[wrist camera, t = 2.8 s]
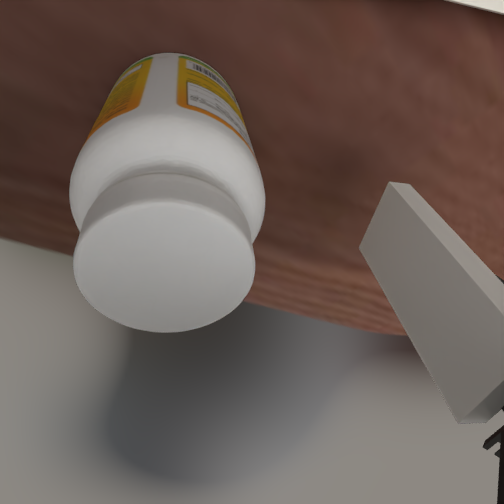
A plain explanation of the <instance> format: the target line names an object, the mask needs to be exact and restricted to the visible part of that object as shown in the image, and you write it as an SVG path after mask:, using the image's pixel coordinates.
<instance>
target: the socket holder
mask: <svg viewBox="0 0 504 504" xmlns="http://www.w3.org/2000/svg"><path fill="white" fill-rule="evenodd" d="M445 1H449V2H453V3H457V4H461V5H465V6H469V7H474V8H478V9H482V10H486V11H490V12H494V13H498V14H503V15H504V0H445Z"/></svg>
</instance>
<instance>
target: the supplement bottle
mask: <svg viewBox="0 0 504 504" xmlns="http://www.w3.org/2000/svg"><path fill="white" fill-rule="evenodd" d="M69 198H70V206H71V211H72V214H73V217H74V220H75V223H76V225H77V227H78V229H79V231H80V235H79V238H78V241H77V244H76V247H75V251H74V255H73V271H74V277H75V281H76V284H77V285H78V288H79V290H80V292H81V293H82V295H83V296H84V298H85V299H86V300H87V302H88V303H89V304H91V305H92V307H93V308H95V309H96V310H97V311H99V312H100V313H101V314H103V315H104V316H106V317H107V318H109V319H112V320H113V321H115V322H118V323H120V324H122V325H124V326H128V327H131V328H135V329H139V330H144V331H151V332H181V331H187V330H192V329H196V328H200V327H203V326H206V325H208V324H211V323H213V322H215V321H217V320H219V319H221V318H223V317H224V316H226V315H227V314H228V313H230V312H231V311H233V310H234V309H235V308H236V307H237V306H238V305H239V304H240V303H241V302H242V300H243V299H244V298H245V296H246V295H247V294H248V292H249V290H250V288H251V285H252V283H253V279H254V275H255V257H254V251H253V245H252V243H253V242H254V240H255V238H256V237H257V235H258V233H259V230H260V228H261V225H262V221H263V218H264V212H265V190H264V185H263V180H262V176H261V172H260V169H259V166H258V162H257V160H256V157H255V154H254V151H253V148H252V145H251V142H250V139H249V136H248V133H247V129H246V126H245V123H244V120H243V117H242V115H241V111H240V108H239V105H238V103H237V101H236V98H235V96H234V94H233V92H232V90H231V88H230V87H229V85H228V84H227V83H226V81H225V80H224V79H223V77H222V76H221V75H220V74H219V73H218V72H217V71H216V70H214V69H213V68H212V67H211V66H209V65H208V64H206V63H204V62H203V61H201V60H199V59H196V58H194V57H191V56H188V55H185V54H179V53H160V54H154V55H151V56H148V57H145V58H143V59H141V60H139V61H137V62H135V63H134V64H132V65H131V66H130V67H129V68H128V69H126V70H125V71H124V73H123V74H122V75H121V76H120V77H119V79H118V80H117V82H116V83H115V85H114V86H113V88H112V90H111V92H110V94H109V96H108V98H107V100H106V102H105V104H104V106H103V108H102V110H101V112H100V114H99V116H98V118H97V120H96V121H95V123H94V125H93V128H92V129H91V131H90V133H89V135H88V137H87V139H86V141H85V143H84V145H83V147H82V148H81V150H80V152H79V155H78V157H77V159H76V162H75V165H74V168H73V171H72V174H71V179H70V188H69Z"/></svg>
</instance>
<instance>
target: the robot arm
mask: <svg viewBox="0 0 504 504" xmlns="http://www.w3.org/2000/svg"><path fill="white" fill-rule="evenodd" d="M359 249H360V251H361V253H362V255H363V256H364V258H365V260H366V262H367V263H368V265H369V267H370V269H371V271H372V272H373V274H374V276H375V278H376V279H377V281H378V283H379V285H380V286H381V288H382V290H383V292H384V294H385V295H386V297H387V299H388V301H389V302H390V304H391V306H392V308H393V310H394V311H395V313H396V315H397V317H398V318H399V320H400V322H401V324H402V325H403V327H404V329H405V331H406V333H407V334H408V336H409V338H410V340H411V341H412V343H413V345H414V347H415V348H416V350H417V352H418V354H419V356H420V357H421V359H422V361H423V363H424V364H425V366H426V368H427V370H428V372H429V373H430V375H431V377H432V378H433V380H434V382H435V384H436V386H437V387H438V389H439V391H440V393H441V395H442V396H443V398H444V400H445V402H446V403H447V405H448V407H449V409H450V411H451V412H452V414H453V416H454V418H455V419H456V421H457V423H458V424H468V423H469V424H470V423H486V422H487V421H488V420H490V419H491V418H492V417H493V416H494V415H495V414H496V413H498V412H499V411H500V410H501V409H502V410H503V411H504V280H502V279H501V278H499V277H498V276H497V275H495V274H494V273H493V272H492V271H491V270H490V269H489V268H488V267H487V266H486V265H485V264H484V263H483V262H482V261H481V259H480V258H479V257H478V256H477V255H476V254H475V253H474V252H473V251H472V250H471V249H470V248H469V247H468V246H467V245H466V244H465V242H464V241H463V240H462V239H461V238H460V237H459V236H458V235H457V234H456V233H455V232H454V231H453V230H452V229H451V228H450V227H449V225H448V224H447V223H446V222H445V221H444V220H443V219H442V218H441V217H440V216H439V215H438V214H437V213H436V212H435V211H434V209H433V208H432V207H431V206H430V205H429V204H428V203H427V202H426V201H425V200H424V199H423V198H422V197H421V196H420V195H419V194H418V192H417V191H416V190H415V189H414V188H413V187H412V186H411V185H410V184H405V183H396V182H388V185H387V187H386V189H385V191H384V193H383V196H382V198H381V200H380V202H379V204H378V207H377V209H376V211H375V213H374V215H373V218H372V220H371V222H370V224H369V226H368V229H367V231H366V233H365V235H364V237H363V240H362V242H361V244H360V246H359ZM497 442H500V443H501V445H500V449H499V450H498V451H497V452H496V453H495V455H496V456H498V457H499V458H500V462H499V481H498V497H497V504H504V425H503V426H502V427H501V428H500V429H499V430H497V431H496V432H495V433H494V434H493V435H491V436H490V437H489V438H488V439H487V440H485V443H484V445H483V448H485V449H487V450H488V449H489V448H491V447H492V446H493V445H494V444H496V443H497Z"/></svg>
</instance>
